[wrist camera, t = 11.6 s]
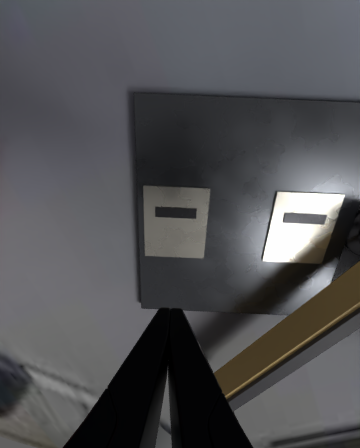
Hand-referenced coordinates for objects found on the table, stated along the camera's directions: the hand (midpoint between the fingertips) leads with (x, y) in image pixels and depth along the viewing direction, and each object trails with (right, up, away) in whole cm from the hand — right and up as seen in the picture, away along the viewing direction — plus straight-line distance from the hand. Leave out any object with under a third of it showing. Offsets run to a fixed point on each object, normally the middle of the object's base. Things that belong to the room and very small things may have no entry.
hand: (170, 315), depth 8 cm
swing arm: (+10, -4, +12) cm, 16 cm away
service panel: (+8, +3, +10) cm, 13 cm away
